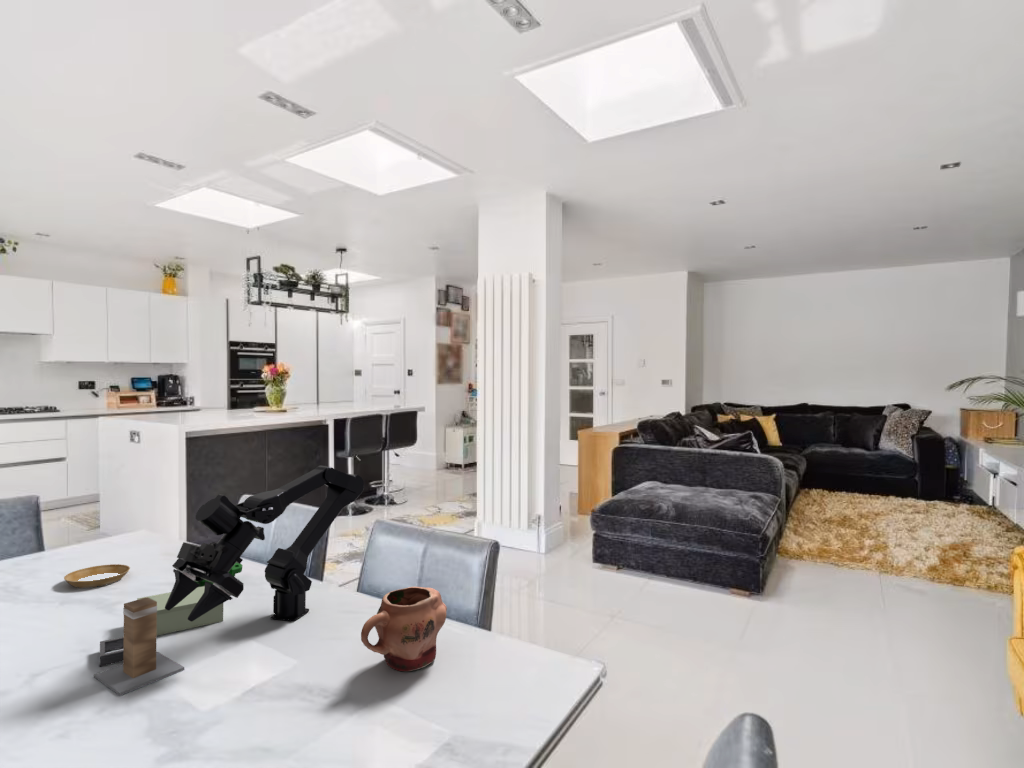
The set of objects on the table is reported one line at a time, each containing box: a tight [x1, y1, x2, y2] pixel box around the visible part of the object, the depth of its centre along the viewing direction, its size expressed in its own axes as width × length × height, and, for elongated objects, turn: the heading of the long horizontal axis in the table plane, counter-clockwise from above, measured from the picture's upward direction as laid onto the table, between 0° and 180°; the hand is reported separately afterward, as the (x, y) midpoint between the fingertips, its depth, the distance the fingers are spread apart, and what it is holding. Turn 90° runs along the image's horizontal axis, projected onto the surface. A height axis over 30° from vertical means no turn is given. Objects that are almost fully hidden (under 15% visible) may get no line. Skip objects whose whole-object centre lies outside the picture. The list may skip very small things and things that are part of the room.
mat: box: [93, 651, 185, 697], centre depth 107 cm, size 11×11×1 cm
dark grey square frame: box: [99, 636, 124, 667], centre depth 115 cm, size 8×8×2 cm
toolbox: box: [136, 586, 224, 637], centre depth 130 cm, size 17×11×6 cm, turn 126°
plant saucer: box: [63, 563, 131, 589], centre depth 156 cm, size 15×15×3 cm
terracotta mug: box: [360, 586, 448, 672], centre depth 112 cm, size 20×12×14 cm, turn 143°
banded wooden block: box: [122, 596, 158, 678], centre depth 107 cm, size 4×4×13 cm
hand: (177, 614), depth 113 cm, fingers open, 9 cm apart
